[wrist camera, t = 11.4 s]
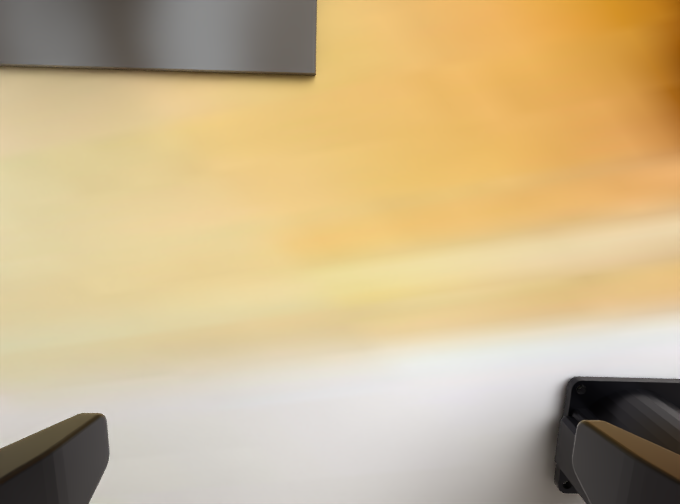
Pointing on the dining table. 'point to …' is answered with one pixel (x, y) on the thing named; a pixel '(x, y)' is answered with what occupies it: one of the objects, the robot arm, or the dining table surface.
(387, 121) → the dining table surface
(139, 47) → the corner tray
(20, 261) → the dining table surface
